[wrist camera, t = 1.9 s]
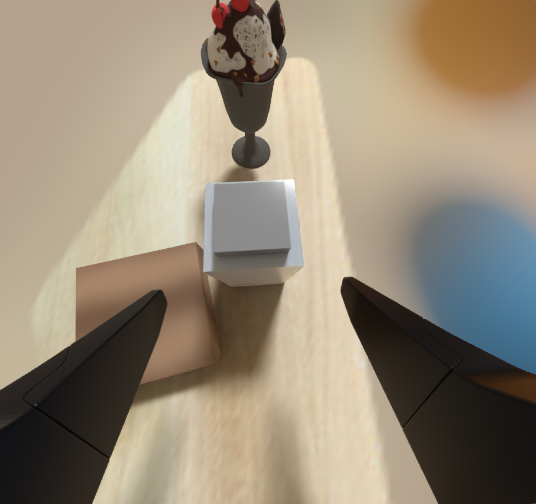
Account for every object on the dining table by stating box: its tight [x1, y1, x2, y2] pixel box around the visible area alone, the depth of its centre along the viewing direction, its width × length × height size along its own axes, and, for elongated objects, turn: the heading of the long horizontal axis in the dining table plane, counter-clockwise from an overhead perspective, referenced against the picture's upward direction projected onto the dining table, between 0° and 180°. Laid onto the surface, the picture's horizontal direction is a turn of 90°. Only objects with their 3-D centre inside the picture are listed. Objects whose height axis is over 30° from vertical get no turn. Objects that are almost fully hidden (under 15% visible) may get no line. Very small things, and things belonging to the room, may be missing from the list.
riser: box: [76, 242, 221, 385], centre depth 18 cm, size 11×11×3 cm
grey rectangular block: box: [203, 180, 304, 287], centre depth 16 cm, size 6×6×11 cm
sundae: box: [201, 0, 287, 168], centre depth 17 cm, size 7×7×15 cm
